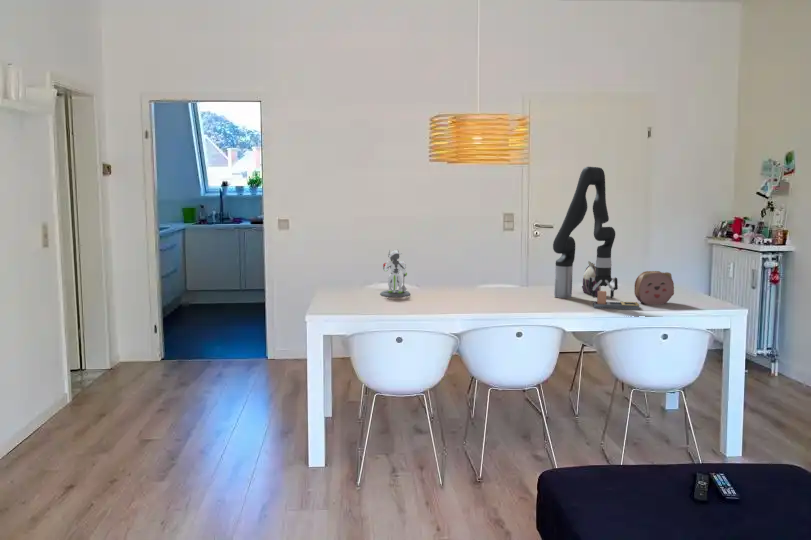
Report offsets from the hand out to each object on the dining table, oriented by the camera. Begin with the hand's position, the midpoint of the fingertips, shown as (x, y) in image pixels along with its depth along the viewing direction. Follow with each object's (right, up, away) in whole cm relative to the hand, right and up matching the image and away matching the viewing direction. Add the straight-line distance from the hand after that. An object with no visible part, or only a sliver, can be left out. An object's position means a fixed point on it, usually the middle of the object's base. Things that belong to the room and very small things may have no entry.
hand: (602, 297), depth 372 cm
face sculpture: (+30, -3, +12) cm, 32 cm away
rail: (+6, -5, 0) cm, 8 cm away
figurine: (-106, 0, +34) cm, 112 cm away
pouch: (+3, 0, +36) cm, 37 cm away
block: (0, -5, +1) cm, 5 cm away
